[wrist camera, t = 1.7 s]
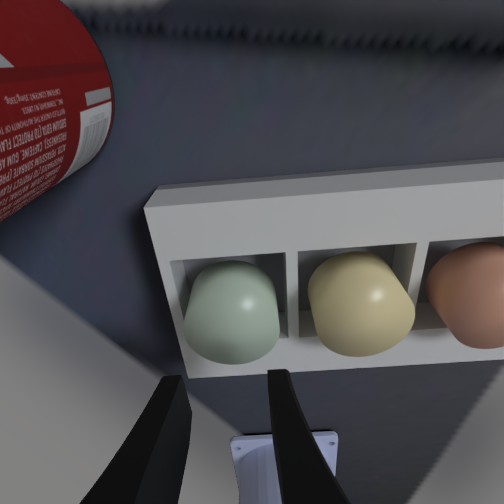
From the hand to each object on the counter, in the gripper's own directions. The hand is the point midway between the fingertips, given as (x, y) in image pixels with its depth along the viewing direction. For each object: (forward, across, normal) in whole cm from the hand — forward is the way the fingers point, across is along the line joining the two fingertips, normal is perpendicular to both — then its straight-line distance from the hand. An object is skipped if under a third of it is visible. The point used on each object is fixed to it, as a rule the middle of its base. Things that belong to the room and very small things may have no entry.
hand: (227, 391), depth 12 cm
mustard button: (+5, -5, 0) cm, 8 cm away
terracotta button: (+5, -11, 0) cm, 12 cm away
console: (+7, -6, 0) cm, 9 cm away
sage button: (+5, 0, 0) cm, 5 cm away
